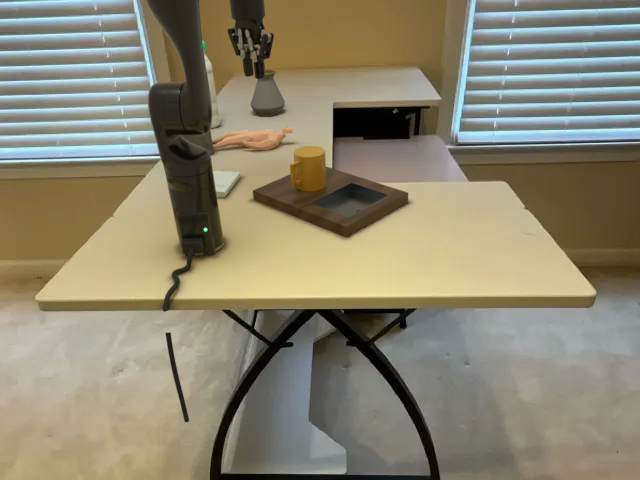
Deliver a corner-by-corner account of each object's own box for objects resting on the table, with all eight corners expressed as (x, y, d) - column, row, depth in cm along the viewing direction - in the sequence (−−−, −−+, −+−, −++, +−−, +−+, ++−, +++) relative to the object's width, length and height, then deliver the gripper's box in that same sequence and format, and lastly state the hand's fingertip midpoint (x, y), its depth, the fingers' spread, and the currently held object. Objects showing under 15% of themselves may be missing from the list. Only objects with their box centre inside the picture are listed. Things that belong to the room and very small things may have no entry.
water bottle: (194, 126, 192) (180, 41, 177) (212, 120, 196) (199, 37, 181) (206, 131, 188) (193, 44, 173) (225, 125, 192) (213, 40, 177)
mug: (310, 176, 149) (308, 143, 144) (332, 184, 145) (331, 150, 140) (282, 189, 144) (279, 155, 138) (304, 197, 139) (302, 162, 134)
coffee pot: (287, 116, 197) (283, 67, 188) (252, 119, 196) (247, 70, 187) (281, 98, 214) (278, 53, 205) (249, 100, 213) (244, 55, 204)
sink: (309, 212, 138) (308, 202, 137) (351, 191, 147) (351, 181, 146) (348, 227, 132) (348, 217, 130) (390, 204, 140) (390, 194, 139)
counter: (253, 200, 145) (252, 190, 144) (315, 172, 158) (315, 163, 156) (346, 237, 128) (346, 226, 127) (408, 202, 141) (408, 192, 139)
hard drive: (240, 177, 157) (225, 197, 147) (211, 176, 158) (194, 196, 148) (240, 171, 156) (224, 191, 146) (210, 170, 157) (193, 189, 147)
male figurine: (210, 129, 178) (293, 119, 177) (214, 145, 181) (296, 135, 180) (205, 142, 170) (292, 131, 168) (209, 159, 173) (294, 148, 171)
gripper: (212, -6, 133) (223, 76, 143) (254, -1, 125) (262, 85, 135) (238, -11, 137) (246, 69, 147) (280, -6, 129) (286, 78, 139)
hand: (254, 76), depth 141 cm, fingers open, 3 cm apart
